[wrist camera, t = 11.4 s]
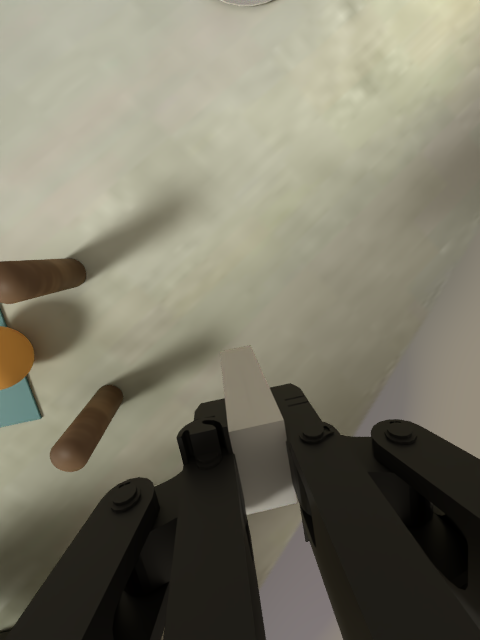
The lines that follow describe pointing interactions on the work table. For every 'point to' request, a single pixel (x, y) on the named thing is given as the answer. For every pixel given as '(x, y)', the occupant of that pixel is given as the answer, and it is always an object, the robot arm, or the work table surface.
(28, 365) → the ball
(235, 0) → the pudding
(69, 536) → the work table surface
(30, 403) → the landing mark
